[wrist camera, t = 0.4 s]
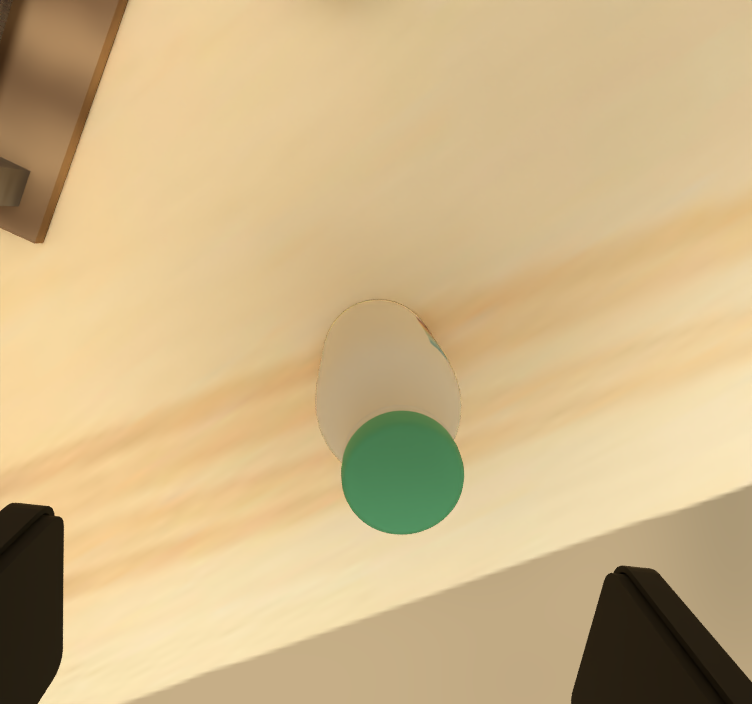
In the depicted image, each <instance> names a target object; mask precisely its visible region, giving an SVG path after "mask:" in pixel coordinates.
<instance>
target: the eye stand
mask: <svg viewBox="0 0 752 704" xmlns="http://www.w3.org/2000/svg"><path fill="white" fill-rule="evenodd" d="M127 2H128V0H13V2H12V5H11V9H10V12H9V15H8V18H7V22H6V25H5V28H4V31H3V35H2V38H1V41H0V228H2V229H4V230H6V231H8V232H11V233H13V234H15V235H17V236H19V237H22V238H24V239H26V240H28V241H30V242H33V243H43V241H44V238H45V236H46V233H47V230H48V227H49V224H50V221H51V218H52V216H53V213H54V210H55V207H56V204H57V201H58V198H59V196H60V193H61V190H62V187H63V184H64V181H65V179H66V176H67V173H68V170H69V167H70V164H71V161H72V159H73V156H74V153H75V150H76V147H77V144H78V141H79V139H80V136H81V133H82V130H83V127H84V124H85V121H86V119H87V116H88V113H89V110H90V107H91V104H92V101H93V99H94V96H95V93H96V90H97V87H98V84H99V82H100V79H101V76H102V73H103V70H104V67H105V64H106V62H107V59H108V56H109V53H110V50H111V47H112V44H113V42H114V39H115V36H116V33H117V30H118V27H119V24H120V22H121V19H122V16H123V13H124V10H125V7H126V4H127Z"/></svg>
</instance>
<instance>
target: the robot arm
mask: <svg viewBox="0 0 752 704" xmlns="http://www.w3.org/2000/svg"><path fill="white" fill-rule="evenodd" d="M63 554H64V524H63V520H62V518H61V517H58V516H54V511H53V509H52V508H51V507H50V506H42V505H32V504H23V503H11V504H9V505H7V506H6V507H5V508H3V509H2V510H1V511H0V704H38V702H39V701H40V699H41V698H42V696H43V695H44V693H45V691H46V690H47V688H48V687H49V685H50V684H51V682H52V681H53V679H54V677H55V675H56V673H57V671H58V669H59V666H60V663H61V659H62V652H63ZM571 704H752V682H751V681H750V680H749V679H748V677H747V676H746V675H745V674H744V673H743V671H742V670H741V669H740V668H739V667H738V666H737V664H736V663H735V662H734V661H733V660H732V658H731V657H730V656H729V655H728V654H727V653H726V652H725V650H724V649H723V648H722V647H721V646H720V644H718V642H717V641H716V640H715V639H714V638H713V636H712V635H711V634H710V633H709V632H708V630H707V629H706V628H705V627H704V626H703V625H702V623H701V622H700V621H699V620H698V619H697V618H696V617H695V615H694V614H693V613H692V612H691V611H690V609H689V608H688V607H687V606H686V605H685V604H684V602H683V601H682V600H681V599H680V598H679V597H678V595H677V594H676V593H675V592H674V591H673V590H672V588H671V587H670V586H669V585H668V584H667V583H666V581H665V580H664V579H663V578H662V577H661V576H660V574H659V573H658V572H656V571H655V570H653V569H650V568H640V567H631V566H619V567H617V568H616V569H615V571H614V573H610V574H608V575H607V576H606V578H605V580H604V583H603V587H602V590H601V594H600V597H599V601H598V604H597V608H596V611H595V615H594V619H593V622H592V625H591V629H590V632H589V636H588V640H587V643H586V646H585V650H584V654H583V657H582V661H581V664H580V668H579V671H578V674H577V678H576V682H575V685H574V689H573V692H572V698H571Z"/></svg>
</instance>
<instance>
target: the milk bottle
mask: <svg viewBox="0 0 752 704" xmlns="http://www.w3.org/2000/svg"><path fill="white" fill-rule="evenodd" d="M316 414H317V420H318V424H319V428H320V431H321V433H322V435H323V438H324V440H325V442H326V444H327V445H328V447H329V449H330V450H331V451H332V453H333V454H334V455H335V456H336V457H337V458H338V459H339V461H340V462H342V468H341V478H342V487H343V492H344V495H345V498H346V500H347V502H348V504H349V505H350V507H351V509H352V510H353V512H354V513H355V514H356V515H357V516H358V517H359V518H360V519H361V520H362V521H363V522H364V523H366V524H367V525H369V526H371V527H372V528H374V529H377V530H379V531H382V532H386V533H390V534H412V533H417V532H421V531H424V530H426V529H429V528H431V527H433V526H434V525H436V524H438V523H439V522H440V521H442V520H443V519H444V518H445V517H446V516H447V515H448V514H449V513H450V512H451V511H452V510H453V508H454V507H455V505H456V504H457V502H458V500H459V497H460V495H461V492H462V488H463V482H464V467H463V462H462V458H461V455H460V452H459V450H458V447H457V445H456V444H455V442H454V439H455V436H456V433H457V431H458V427H459V423H460V417H461V397H460V391H459V386H458V383H457V379H456V376H455V374H454V372H453V370H452V368H451V366H450V364H449V362H448V360H447V358H446V356H445V355H444V353H443V352H442V350H441V349H440V347H439V345H438V344H437V342H436V341H435V339H434V338H433V336H432V335H431V333H430V332H429V330H428V329H427V327H426V326H425V325H424V323H423V322H422V321H421V320H420V318H419V317H418V316H417V315H416V314H415V313H413V312H412V311H411V310H410V309H408V308H407V307H405V306H403V305H401V304H399V303H396V302H393V301H388V300H368V301H364V302H361V303H358V304H356V305H353V306H352V307H350V308H348V309H347V310H345V311H344V312H343V313H342V314H341V315H340V316H339V317H338V318H337V319H336V320H335V321H334V323H333V324H332V326H331V328H330V329H329V331H328V334H327V337H326V339H325V343H324V347H323V352H322V357H321V362H320V367H319V373H318V379H317V387H316Z"/></svg>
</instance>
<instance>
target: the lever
mask: <svg viewBox="0 0 752 704" xmlns="http://www.w3.org/2000/svg"><path fill="white" fill-rule="evenodd" d="M12 2H13V0H0V41H1V38H2V35H3V31H4V28H5V25H6V22H7V18H8V15H9V12H10V9H11V5H12Z"/></svg>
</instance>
